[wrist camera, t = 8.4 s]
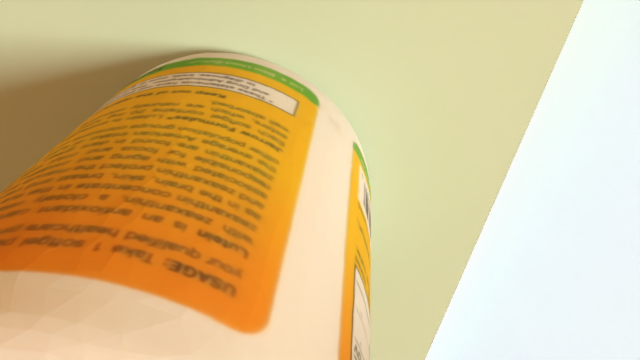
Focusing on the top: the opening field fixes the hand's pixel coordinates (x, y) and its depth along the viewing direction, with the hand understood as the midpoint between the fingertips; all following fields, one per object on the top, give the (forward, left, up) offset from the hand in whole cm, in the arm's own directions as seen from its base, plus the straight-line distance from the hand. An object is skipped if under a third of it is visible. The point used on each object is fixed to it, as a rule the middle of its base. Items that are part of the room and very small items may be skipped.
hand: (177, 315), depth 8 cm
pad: (0, 0, -4) cm, 4 cm away
